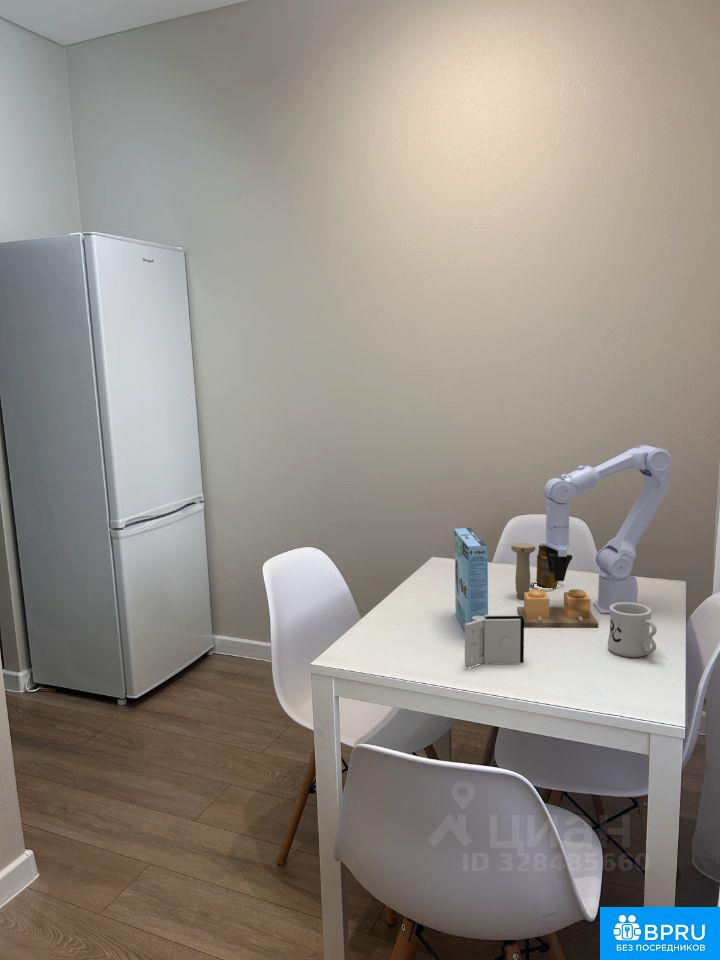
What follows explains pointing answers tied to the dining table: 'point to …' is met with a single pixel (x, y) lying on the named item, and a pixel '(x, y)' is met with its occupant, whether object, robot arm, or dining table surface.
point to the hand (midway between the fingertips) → (556, 576)
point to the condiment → (544, 572)
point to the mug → (631, 630)
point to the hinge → (494, 639)
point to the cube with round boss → (536, 604)
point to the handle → (522, 567)
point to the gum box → (470, 575)
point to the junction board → (558, 620)
